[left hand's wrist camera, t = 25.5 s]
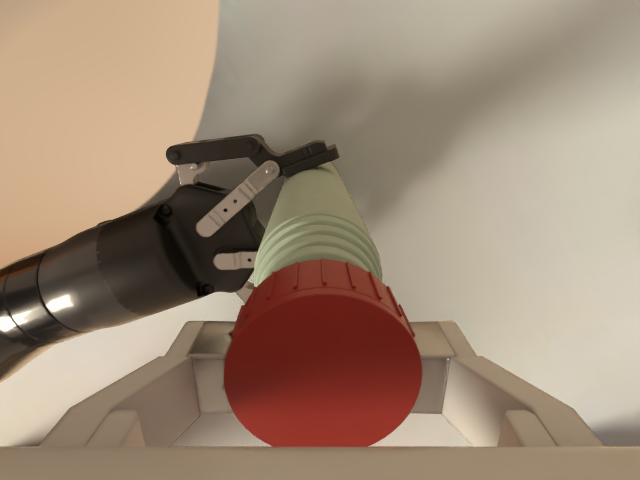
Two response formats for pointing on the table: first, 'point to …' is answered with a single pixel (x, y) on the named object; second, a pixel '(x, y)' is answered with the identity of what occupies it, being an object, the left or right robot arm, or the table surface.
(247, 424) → the cap
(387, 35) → the table surface
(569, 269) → the table surface
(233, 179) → the table surface
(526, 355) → the table surface
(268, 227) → the bottle
